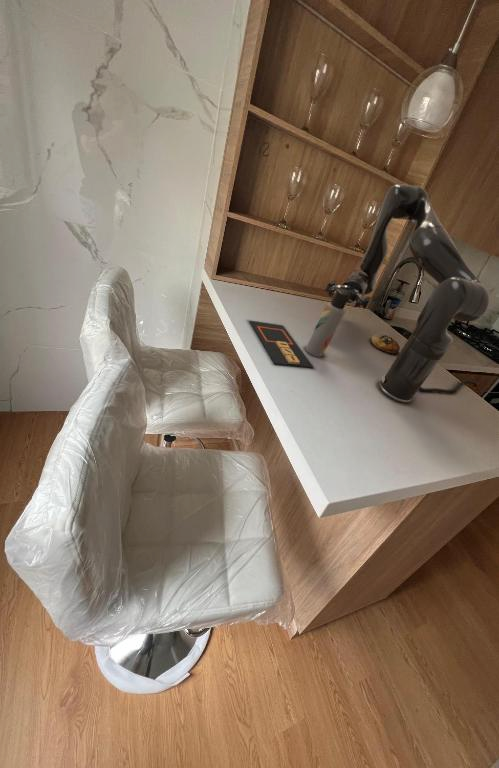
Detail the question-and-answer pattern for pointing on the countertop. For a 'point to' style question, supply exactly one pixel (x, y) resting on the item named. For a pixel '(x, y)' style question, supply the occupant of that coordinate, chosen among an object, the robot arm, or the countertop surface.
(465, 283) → the robot arm
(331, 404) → the countertop surface
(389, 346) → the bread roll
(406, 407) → the countertop surface
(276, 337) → the mat
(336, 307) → the lotion bottle
